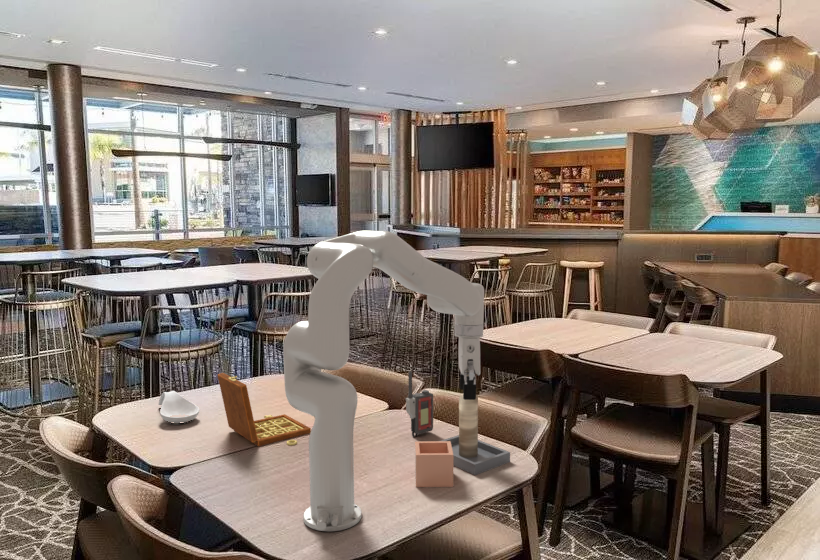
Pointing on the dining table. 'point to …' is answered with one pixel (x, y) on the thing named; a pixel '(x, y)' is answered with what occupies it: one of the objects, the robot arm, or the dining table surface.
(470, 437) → the birch dowel
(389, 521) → the dining table surface
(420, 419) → the walkie-talkie
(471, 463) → the charcoal tray
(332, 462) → the robot arm
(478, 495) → the dining table surface
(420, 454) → the terracotta box
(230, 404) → the game set
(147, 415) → the dining table surface
